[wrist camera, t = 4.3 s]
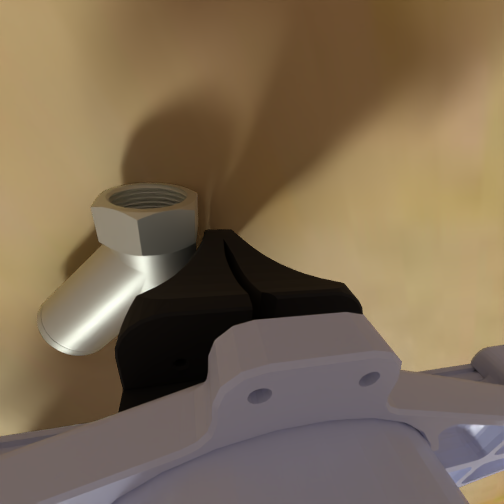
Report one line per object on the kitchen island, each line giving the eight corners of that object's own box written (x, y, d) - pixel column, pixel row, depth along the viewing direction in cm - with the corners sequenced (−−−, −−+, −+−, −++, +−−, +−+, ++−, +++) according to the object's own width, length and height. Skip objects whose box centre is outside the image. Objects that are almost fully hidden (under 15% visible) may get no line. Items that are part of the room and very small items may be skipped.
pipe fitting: (77, 320, 15) (201, 316, 16) (37, 386, 11) (197, 376, 12) (28, 174, 11) (198, 182, 12) (-57, 210, 7) (192, 217, 8)
